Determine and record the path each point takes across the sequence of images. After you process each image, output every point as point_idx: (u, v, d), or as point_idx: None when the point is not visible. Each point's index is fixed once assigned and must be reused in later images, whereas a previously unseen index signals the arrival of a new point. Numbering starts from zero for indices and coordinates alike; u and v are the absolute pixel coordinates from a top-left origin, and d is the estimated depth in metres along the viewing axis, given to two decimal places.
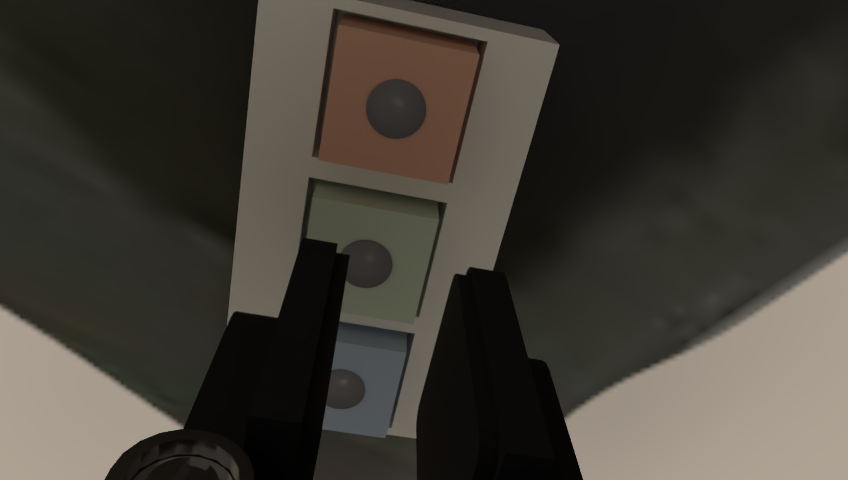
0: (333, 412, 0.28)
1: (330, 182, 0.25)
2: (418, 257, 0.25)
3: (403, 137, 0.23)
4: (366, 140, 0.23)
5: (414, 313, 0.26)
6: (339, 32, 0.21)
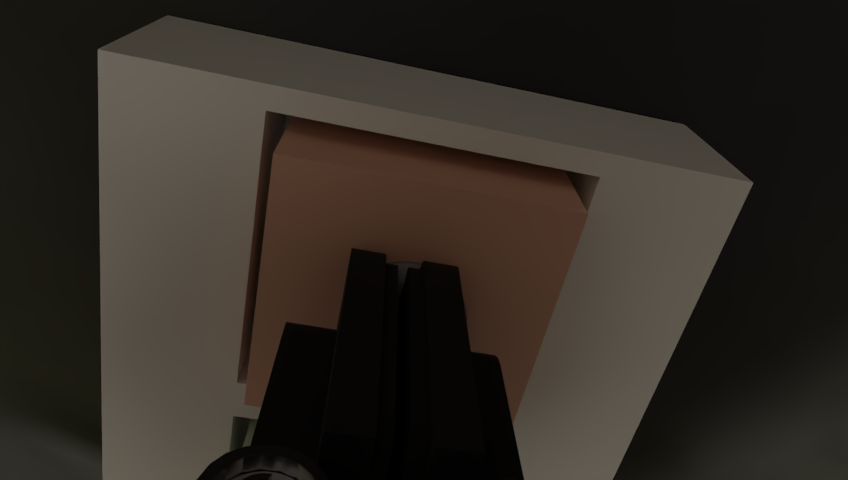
0: None
1: None
2: None
3: None
4: None
5: None
6: (276, 170, 0.09)
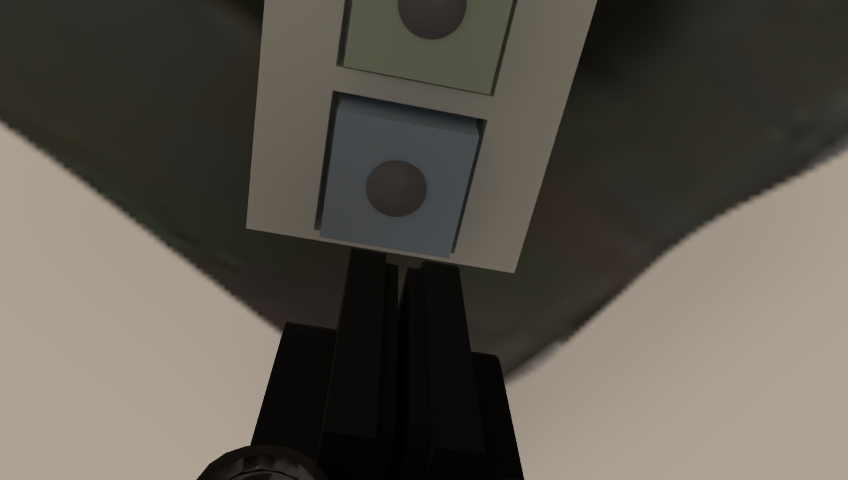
0: (386, 222, 0.23)
1: None
2: None
3: None
4: None
5: (491, 78, 0.20)
6: None
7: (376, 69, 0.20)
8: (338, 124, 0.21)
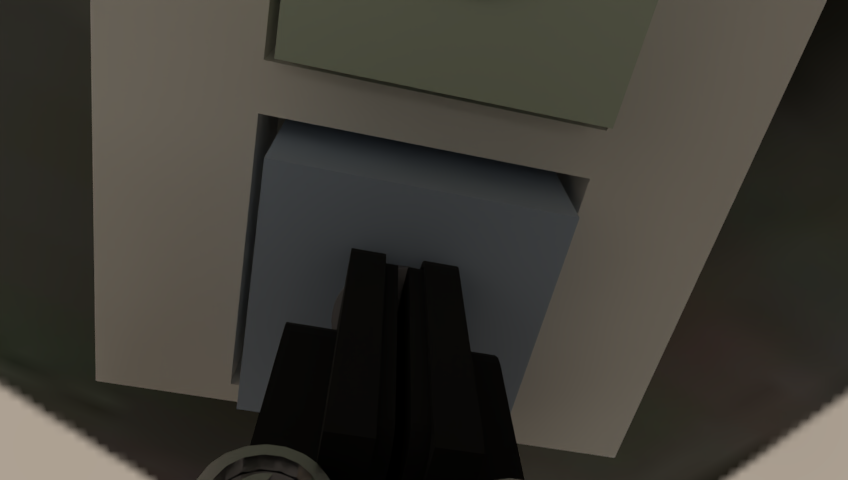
0: None
1: None
2: None
3: None
4: None
5: (620, 92, 0.09)
6: None
7: (352, 67, 0.09)
8: (267, 189, 0.09)
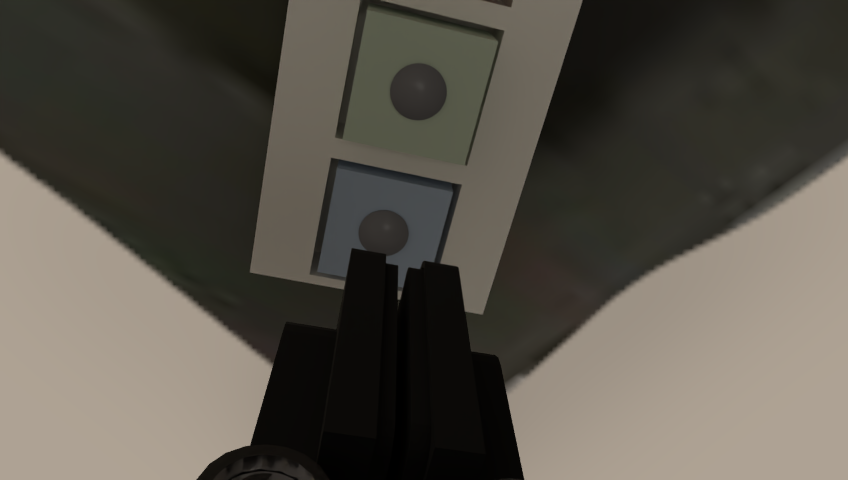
0: None
1: (381, 7, 0.24)
2: (473, 86, 0.24)
3: None
4: None
5: (466, 152, 0.25)
6: None
7: (370, 143, 0.24)
8: (337, 179, 0.26)
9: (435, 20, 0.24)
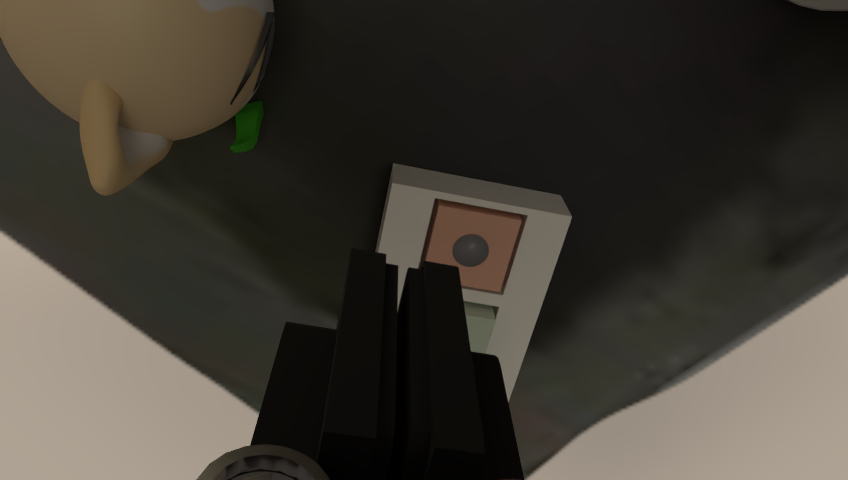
0: None
1: None
2: (480, 342, 0.39)
3: (474, 265, 0.37)
4: None
5: None
6: (439, 209, 0.36)
7: None
8: None
9: None
